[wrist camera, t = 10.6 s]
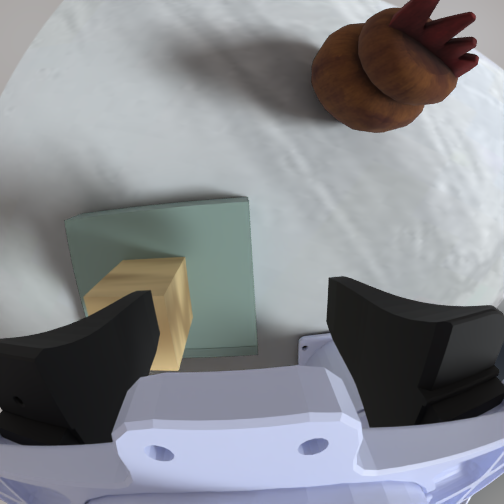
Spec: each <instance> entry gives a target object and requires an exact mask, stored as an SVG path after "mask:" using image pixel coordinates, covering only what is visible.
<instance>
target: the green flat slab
mask: <svg viewBox="0 0 504 504" xmlns="http://www.w3.org/2000/svg"><path fill="white" fill-rule="evenodd" d="M64 222H65V228H66V234H67V240H68V245H69V250H70V255H71V260H72V265H73V269H74V274H75V278H76V282H77V286H78V290H79V294H80V298H81V302H82V305H83V309H84V312H85V316H86V317H88V312H87V309H86V305H85V301H84V296H85V295H86V294H87V293H88V292H89V291H90V290H91V289H92V288H93V287H94V286H95V285H96V284H97V283H98V282H99V281H101V280H102V279H103V278H104V277H105V276H106V275H107V274H108V273H109V272H110V271H111V270H113V269H114V268H115V267H116V266H117V265H118V264H119V263H120V262H121V261H122V260H134V259H153V258H172V257H185V260H186V268H187V277H188V285H189V292H190V300H191V307H192V314H193V319H192V323H191V326H190V330H189V334H188V337H187V341H186V345H185V348H184V352H183V356H182V358H201V357H228V356H246V355H258V346H257V329H256V312H255V296H254V279H253V262H252V245H251V228H250V211H249V200H248V197H238V198H224V199H211V200H199V201H187V202H176V203H166V204H156V205H147V206H138V207H129V208H121V209H113V210H105V211H98V212H90V213H83V214H80V215H77V216H74V217H72V218H69V219H67V220H64Z"/></svg>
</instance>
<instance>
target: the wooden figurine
mask: <svg viewBox="0 0 504 504" xmlns="http://www.w3.org/2000/svg"><path fill="white" fill-rule="evenodd" d="M439 1H440V0H410V1H409V2H408V3H406V4H405V5H404V6H403V7H402V8H389V9H385V10H383V11H381V12H379V13H377V14H375V15H373V16H372V17H370V18H369V19H368V20H367V21H366V23H359V24H349V25H347V26H344V27H342V28H340V29H339V30H337V31H335V32H334V33H332V34H331V35H329V37H328V38H327V39H326V41H325V42H324V44H323V45H322V47H321V48H320V50H319V52H318V53H317V55H316V57H315V58H314V60H313V64H312V76H311V83H312V86H313V88H314V91H315V93H316V95H317V98H318V99H319V101H320V102H321V104H322V105H323V107H324V108H325V110H327V111H328V112H329V113H330V114H331V115H332V116H333V117H334V118H335V119H337V120H338V121H340V122H342V123H343V124H345V125H346V126H348V127H350V128H351V129H354V130H359V131H366V132H373V133H380V132H386V131H389V130H393V129H397V128H401V127H404V126H407V125H408V124H410V123H411V122H413V121H414V119H415V118H416V117H417V116H418V115H419V114H420V113H421V112H422V111H423V108H424V105H427V104H435V103H438V102H441V101H443V100H444V99H445V98H446V97H447V96H448V95H449V94H450V93H451V92H452V91H453V90H454V88H455V87H456V84H457V80H458V77H460V76H461V75H463V74H465V73H466V72H468V71H470V70H471V69H472V68H474V67H475V66H476V65H478V60H479V57H478V56H477V55H475V54H470V53H467V52H468V51H470V50H471V49H473V48H475V47H476V44H477V40H476V39H475V38H474V37H463V38H453V37H454V36H455V35H457V34H458V33H459V32H461V31H462V30H463V29H464V28H466V27H467V26H468V25H470V24H471V23H472V22H474V21H475V19H476V16H475V14H473V13H472V12H467V13H462V14H457V15H453V16H449V17H445V18H441V19H437V20H431V19H430V18H429V17H430V15H431V14H432V12H433V10H434V9H435V7H436V5H437V4H438V2H439ZM451 38H452V39H451Z"/></svg>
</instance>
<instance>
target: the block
mask: <svg viewBox="0 0 504 504" xmlns="http://www.w3.org/2000/svg"><path fill="white" fill-rule="evenodd" d="M142 290H151V293H152V298H153V303H154V308H155V312H156V317H157V321H158V326H159V330H160V337H159V342H158V347H157V352H156V355H155V358H154V360H153V363H152V366H151V369H150V370H162V371H179V368H180V364H181V360H182V356H183V352H184V348H185V345H186V341H187V337H188V334H189V330H190V326H191V323H192V319H193V314H192V307H191V300H190V292H189V285H188V277H187V268H186V260H185V257H172V258H153V259H134V260H122V261H121V262H120V263H119V264H118V265H117V266H116V267H115V268H114V269H113V270H111V271H110V272H109V273H108V274H107V275H106V276H105V277H104V278H103V279H102V280H101V281H99V282H98V283H97V284H96V285H95V286H94V287H93V288H92V289H91V290H90V291H89V292H88V293H87V294H86V295H85V296H84V301H85V305H86V309H87V312H88V316H90V315H92V314H93V313H95V312H97V311H99V310H101V309H103V308H105V307H107V306H108V305H110V304H112V303H114V302H115V301H117V300H119V299H121V298H122V297H124V296H126V295H128V294H130V293H132V292H135V291H142Z"/></svg>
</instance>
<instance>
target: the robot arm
mask: <svg viewBox="0 0 504 504" xmlns="http://www.w3.org/2000/svg"><path fill="white" fill-rule="evenodd" d="M326 322H327V325H328V328H329V331H330V333H327V334H319V335H310V336H303V337H301V338H300V339H299V344H298V365H294V366H284V367H275V368H264V369H251V370H236V371H216V372H165V373H160V374H155V375H150V376H148V374H149V371H150V369H151V366H152V363H153V360H154V358H155V355H156V352H157V347H158V342H159V337H160V330H159V326H158V321H157V317H156V312H155V308H154V303H153V298H152V293H151V290H142V291H135V292H132V293H130V294H128V295H126V296H124V297H122V298H121V299H119V300H117V301H115V302H114V303H112V304H110V305H108V306H107V307H105V308H103V309H101V310H99V311H97V312H95V313H93V314H92V315H90V316H88V317H86V318H84V319H81V320H79V321H77V322H74V323H72V324H69V325H67V326H64V327H60V328H57V329H54V330H51V331H47V332H44V333H39V334H35V335H29V336H24V337H15V338H4V339H0V407H1V409H2V412H1V413H0V499H1V500H2V501H4V502H6V503H7V504H467V503H468V501H469V500H470V498H471V496H472V495H474V494H475V493H476V492H478V491H479V490H481V489H482V488H484V487H485V486H487V485H488V484H489V483H491V482H492V481H494V480H495V479H496V478H498V477H499V476H500V475H502V474H503V473H504V380H503V381H502V382H501V381H500V380H499V379H498V378H497V377H496V376H498V374H499V369H498V368H497V367H496V366H495V365H494V364H495V361H496V359H497V356H498V354H499V351H500V349H501V346H502V344H503V341H504V315H503V313H502V312H501V311H499V310H498V309H496V308H495V307H494V306H491V305H486V306H445V305H436V304H429V303H423V302H418V301H414V300H410V299H406V298H402V297H399V296H395V295H393V294H390V293H387V292H384V291H381V290H379V289H376V288H374V287H371V286H369V285H366V284H364V283H361V282H359V281H356V280H354V279H351V278H348V277H344V276H342V277H331V278H329V285H328V304H327V320H326ZM303 346H307V347H306V348H302V347H303Z"/></svg>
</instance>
